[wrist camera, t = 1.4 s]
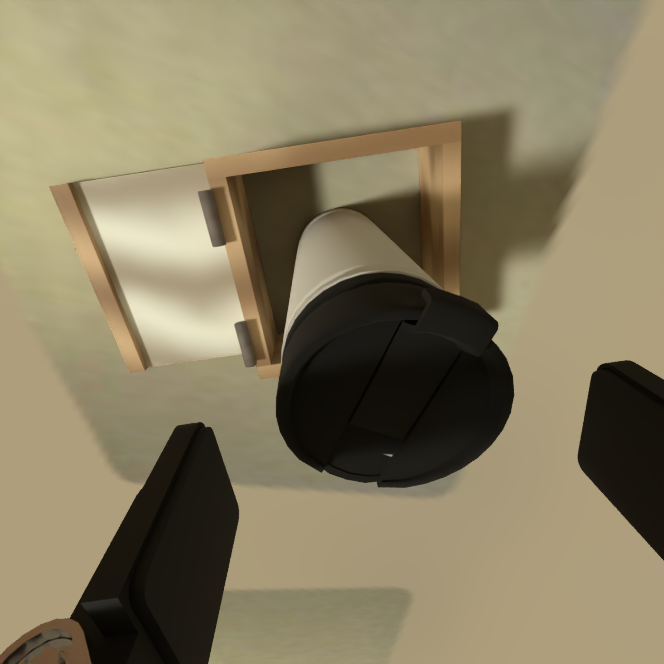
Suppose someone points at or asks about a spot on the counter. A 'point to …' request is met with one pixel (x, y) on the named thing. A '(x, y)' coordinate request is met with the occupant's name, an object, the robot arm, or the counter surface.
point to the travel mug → (384, 362)
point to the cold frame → (226, 246)
